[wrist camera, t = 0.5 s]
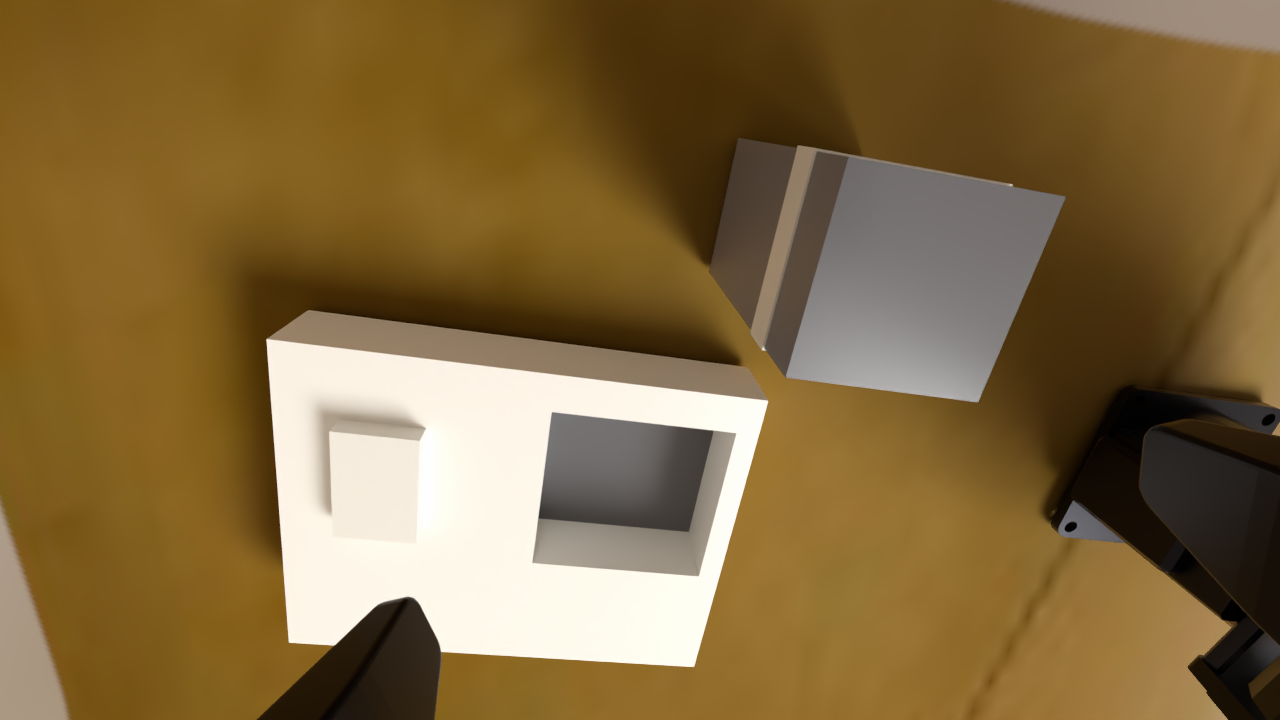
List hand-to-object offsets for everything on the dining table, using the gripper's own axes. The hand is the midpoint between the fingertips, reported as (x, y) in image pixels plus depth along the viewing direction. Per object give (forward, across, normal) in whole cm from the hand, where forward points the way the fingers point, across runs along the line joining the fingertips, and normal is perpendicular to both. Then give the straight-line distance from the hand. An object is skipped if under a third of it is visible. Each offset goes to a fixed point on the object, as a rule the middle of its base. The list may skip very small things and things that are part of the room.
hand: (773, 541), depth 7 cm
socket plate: (+12, +7, +6) cm, 15 cm away
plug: (+12, -4, -1) cm, 13 cm away
